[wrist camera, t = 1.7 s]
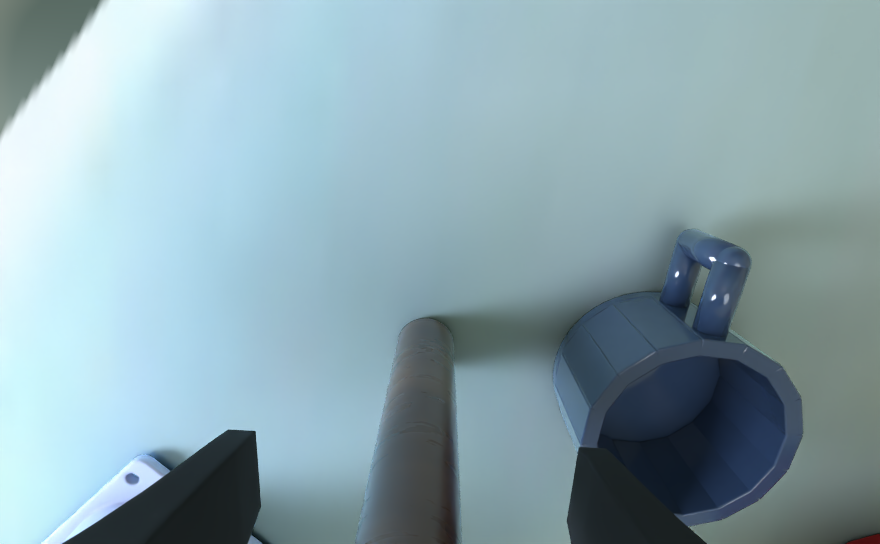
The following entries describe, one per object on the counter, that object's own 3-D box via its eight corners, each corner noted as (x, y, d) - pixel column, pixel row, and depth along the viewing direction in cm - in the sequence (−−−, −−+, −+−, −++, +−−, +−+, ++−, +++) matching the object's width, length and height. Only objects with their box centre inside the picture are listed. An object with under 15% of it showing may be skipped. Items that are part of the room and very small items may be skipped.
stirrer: (424, 377, 18) (400, 675, 8) (386, 341, 17) (315, 610, 8) (465, 345, 17) (490, 617, 8) (427, 306, 17) (405, 544, 7)
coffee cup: (695, 452, 19) (760, 537, 15) (537, 432, 18) (562, 514, 15) (772, 235, 16) (874, 270, 12) (589, 209, 16) (635, 237, 12)
